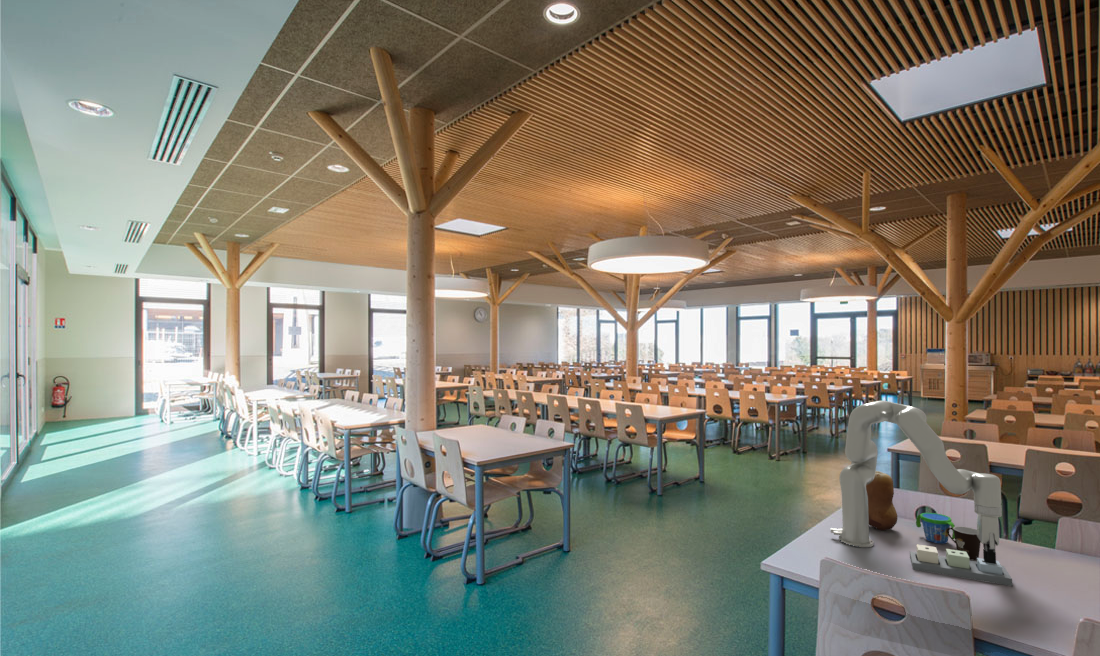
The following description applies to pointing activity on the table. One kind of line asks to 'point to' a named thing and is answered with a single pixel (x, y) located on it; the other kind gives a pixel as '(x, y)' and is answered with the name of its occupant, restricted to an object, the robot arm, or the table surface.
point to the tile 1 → (927, 554)
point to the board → (960, 570)
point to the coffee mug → (966, 541)
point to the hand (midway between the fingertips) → (989, 561)
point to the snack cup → (935, 527)
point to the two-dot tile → (957, 558)
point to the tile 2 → (989, 566)
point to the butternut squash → (881, 502)
